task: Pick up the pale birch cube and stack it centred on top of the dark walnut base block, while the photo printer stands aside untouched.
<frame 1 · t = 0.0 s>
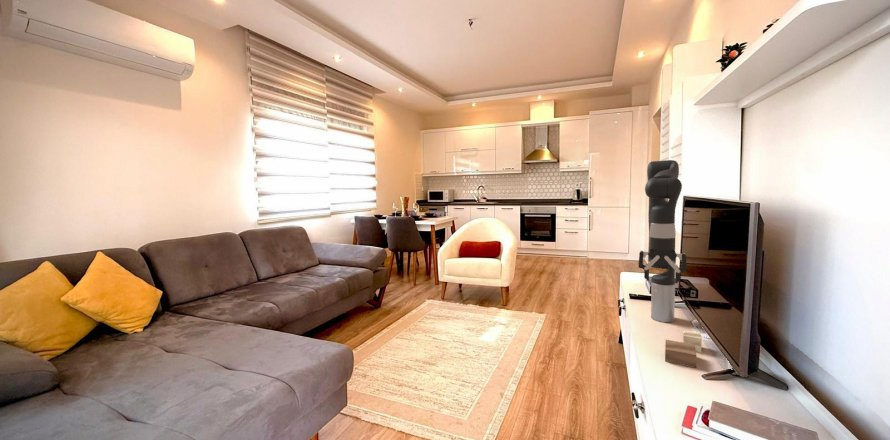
hand: (661, 281, 121), 29 cm above the tv stand, tool pointing down, fingers open, 8 cm apart
walnut base block: (679, 358, 124), on the tv stand
photo printer: (737, 370, 116), on the tv stand
birch cube: (691, 348, 132), on the tv stand
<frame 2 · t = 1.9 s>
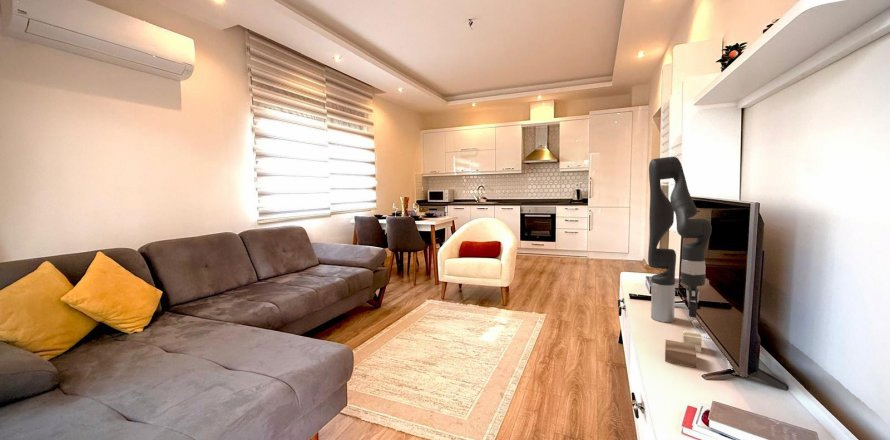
hand: (692, 313, 131), 14 cm above the tv stand, tool pointing down, fingers open, 8 cm apart
nothing on the tv stand moved.
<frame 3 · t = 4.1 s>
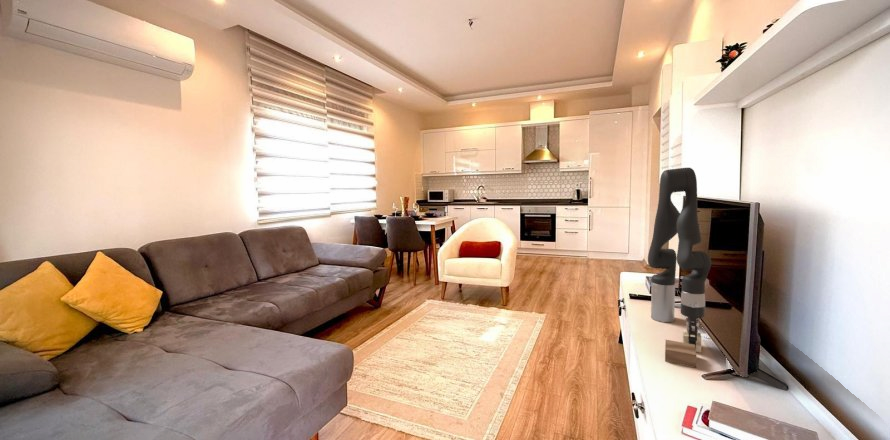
hand: (691, 345, 132), 1 cm above the tv stand, tool pointing down, fingers closed on birch cube, 5 cm apart
birch cube: (691, 347, 132), on the tv stand, touching gripper
everything else where it was.
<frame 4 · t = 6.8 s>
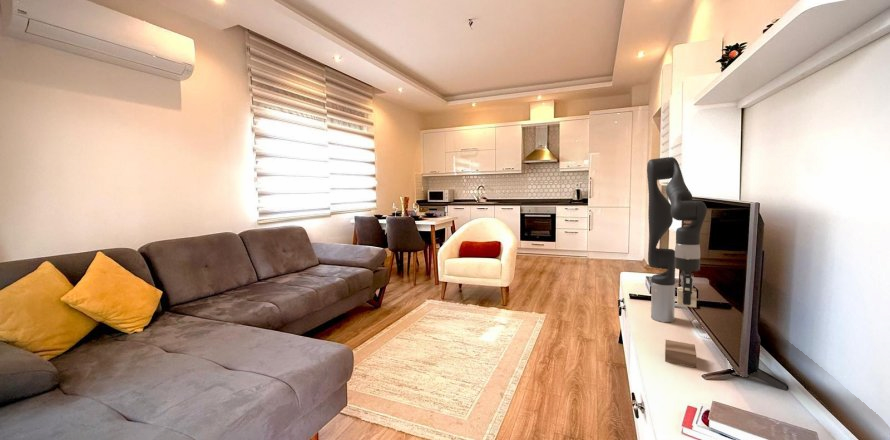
hand: (686, 301, 125), 20 cm above the tv stand, tool pointing down, fingers closed on birch cube, 5 cm apart
birch cube: (686, 304, 125), point 19 cm above the tv stand, touching gripper
everything else where it was.
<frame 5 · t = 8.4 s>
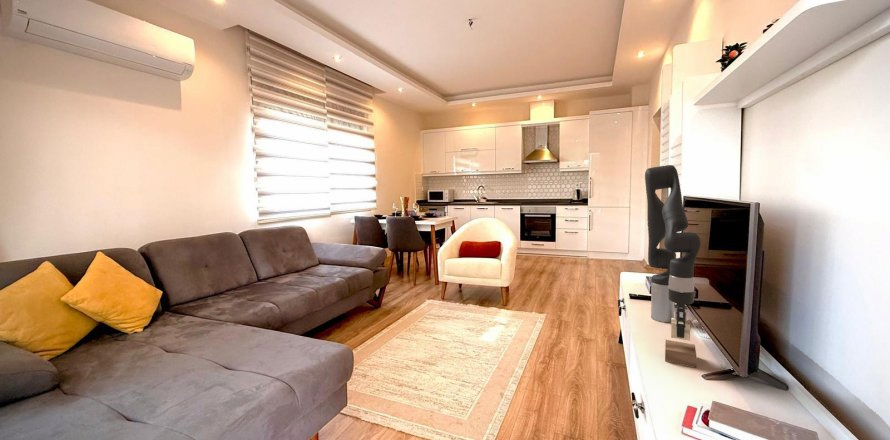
hand: (680, 333, 123), 9 cm above the tv stand, tool pointing down, fingers closed on birch cube, 5 cm apart
birch cube: (680, 336, 124), point 9 cm above the tv stand, touching gripper
everything else where it was.
when the fingers open (6 cm above the tv stand, at t = 9.5 s): birch cube stays where it is, resting on walnut base block.
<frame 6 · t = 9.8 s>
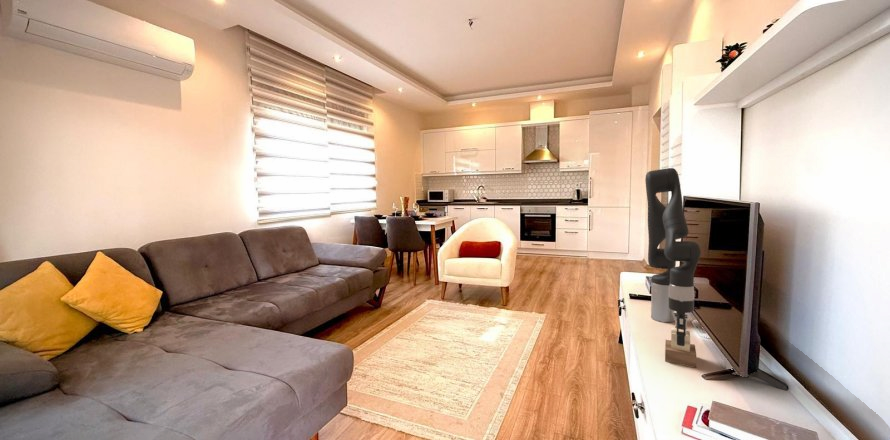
hand: (680, 340, 124), 7 cm above the tv stand, tool pointing down, fingers open, 8 cm apart
birch cube: (680, 346, 124), point 4 cm above the tv stand, touching walnut base block
everything else where it was.
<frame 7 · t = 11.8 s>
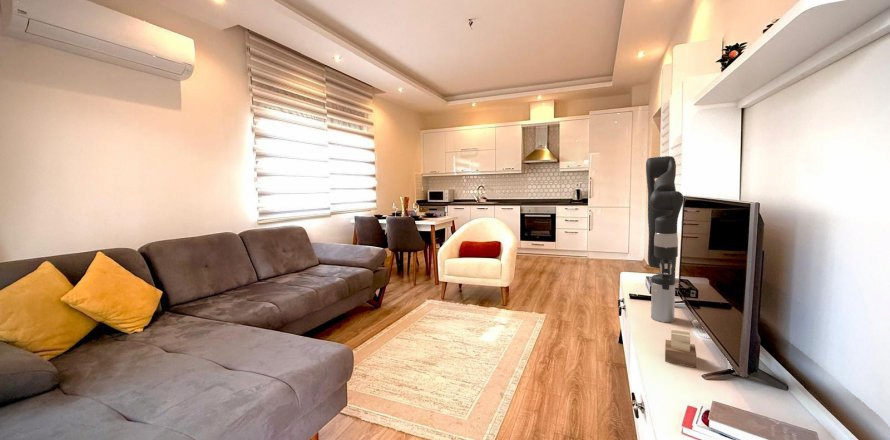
hand: (665, 286, 131), 24 cm above the tv stand, tool pointing down, fingers open, 8 cm apart
nothing on the tv stand moved.
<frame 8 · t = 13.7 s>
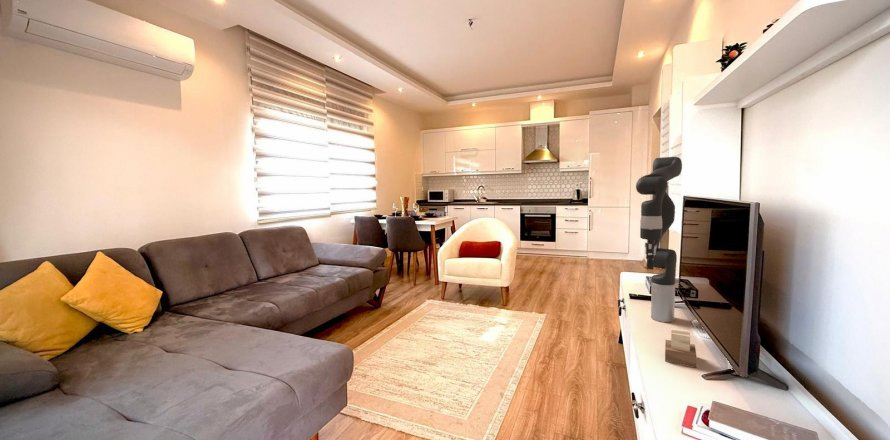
hand: (650, 266, 139), 30 cm above the tv stand, tool pointing down, fingers open, 8 cm apart
nothing on the tv stand moved.
at the end: birch cube 0.0 cm off-centre on the walnut base block, point 4.5 cm above the walnut base block's base; birch cube tilted 0°; the gripper is holding nothing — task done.
